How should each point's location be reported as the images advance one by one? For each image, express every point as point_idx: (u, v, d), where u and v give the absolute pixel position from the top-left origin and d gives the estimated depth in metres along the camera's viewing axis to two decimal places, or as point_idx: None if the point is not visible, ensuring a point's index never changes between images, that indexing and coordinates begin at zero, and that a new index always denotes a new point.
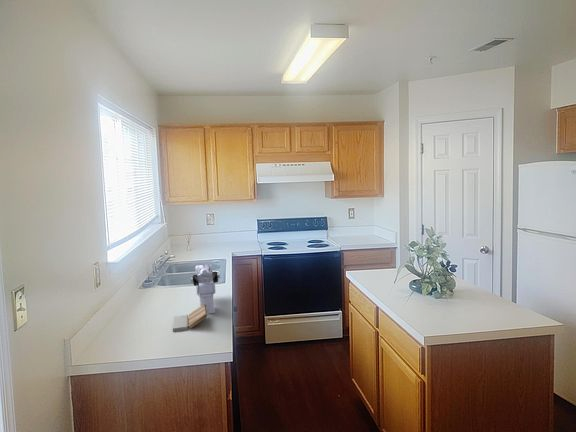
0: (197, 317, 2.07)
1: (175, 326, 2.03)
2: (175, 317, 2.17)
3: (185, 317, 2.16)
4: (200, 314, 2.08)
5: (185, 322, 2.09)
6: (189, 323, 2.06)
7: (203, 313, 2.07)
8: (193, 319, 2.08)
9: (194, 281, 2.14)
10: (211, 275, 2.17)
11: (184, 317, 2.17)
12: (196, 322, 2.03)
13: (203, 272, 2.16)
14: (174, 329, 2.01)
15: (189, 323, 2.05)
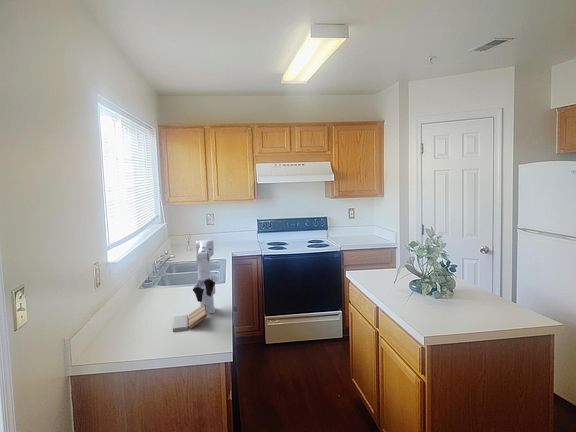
0: (197, 317, 2.07)
1: (175, 326, 2.03)
2: (175, 317, 2.17)
3: (185, 317, 2.16)
4: (200, 314, 2.08)
5: (185, 322, 2.09)
6: (189, 323, 2.06)
7: (203, 313, 2.07)
8: (193, 319, 2.08)
9: None
10: (206, 280, 2.11)
11: (184, 317, 2.17)
12: (196, 322, 2.03)
13: (198, 282, 2.12)
14: (174, 329, 2.01)
15: (189, 323, 2.05)
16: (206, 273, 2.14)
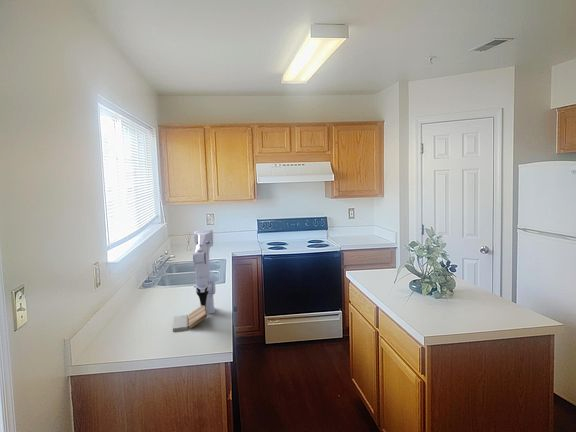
0: (197, 317, 2.07)
1: (175, 326, 2.03)
2: (175, 317, 2.17)
3: (185, 317, 2.16)
4: (200, 314, 2.08)
5: (185, 322, 2.09)
6: (189, 323, 2.06)
7: (203, 313, 2.07)
8: (193, 319, 2.08)
9: None
10: None
11: (184, 317, 2.17)
12: (196, 322, 2.03)
13: None
14: (174, 329, 2.01)
15: (189, 323, 2.05)
16: (201, 280, 2.08)
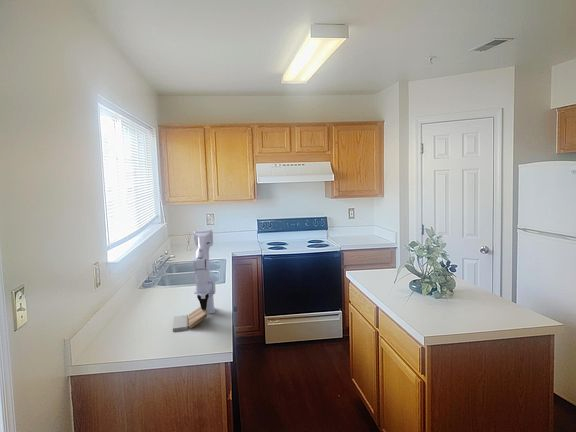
0: (197, 317, 2.07)
1: (175, 326, 2.03)
2: (175, 317, 2.17)
3: (185, 317, 2.16)
4: (200, 314, 2.08)
5: (185, 322, 2.09)
6: (189, 323, 2.06)
7: (203, 313, 2.07)
8: (193, 319, 2.08)
9: None
10: None
11: (184, 317, 2.17)
12: (196, 322, 2.03)
13: None
14: (174, 329, 2.01)
15: (189, 323, 2.05)
16: (201, 286, 2.09)
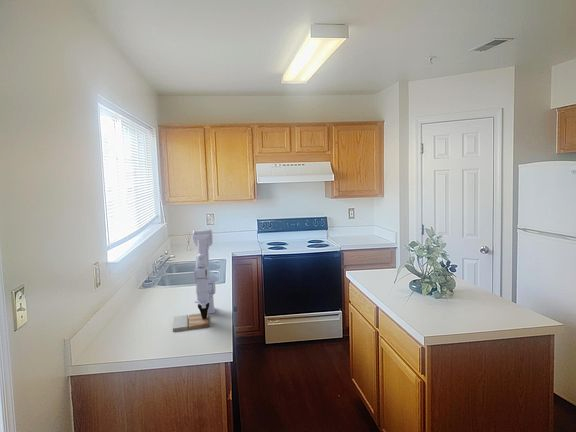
0: (199, 322, 2.07)
1: (175, 326, 2.03)
2: (175, 317, 2.17)
3: (185, 317, 2.16)
4: (203, 321, 2.08)
5: (185, 322, 2.09)
6: (189, 324, 2.06)
7: (206, 321, 2.08)
8: (194, 322, 2.08)
9: None
10: None
11: (184, 317, 2.17)
12: (197, 326, 2.04)
13: None
14: (174, 329, 2.01)
15: (190, 324, 2.05)
16: (202, 295, 2.09)
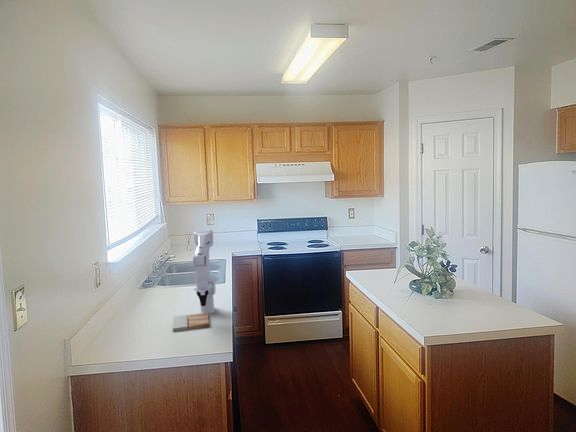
0: (199, 322, 2.07)
1: (175, 326, 2.03)
2: (175, 317, 2.17)
3: (185, 317, 2.16)
4: (203, 321, 2.08)
5: (185, 322, 2.09)
6: (189, 324, 2.06)
7: (206, 321, 2.08)
8: (194, 322, 2.08)
9: None
10: None
11: (184, 317, 2.17)
12: (197, 326, 2.04)
13: None
14: (174, 329, 2.01)
15: (190, 324, 2.05)
16: (201, 282, 2.09)
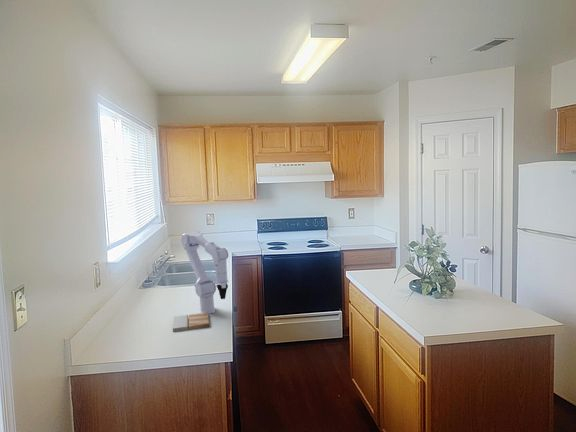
0: (199, 322, 2.07)
1: (175, 326, 2.03)
2: (175, 317, 2.17)
3: (185, 317, 2.16)
4: (203, 321, 2.08)
5: (185, 322, 2.09)
6: (189, 324, 2.06)
7: (206, 321, 2.08)
8: (194, 322, 2.08)
9: None
10: None
11: (184, 317, 2.17)
12: (197, 326, 2.04)
13: None
14: (174, 329, 2.01)
15: (190, 324, 2.05)
16: (221, 276, 2.15)
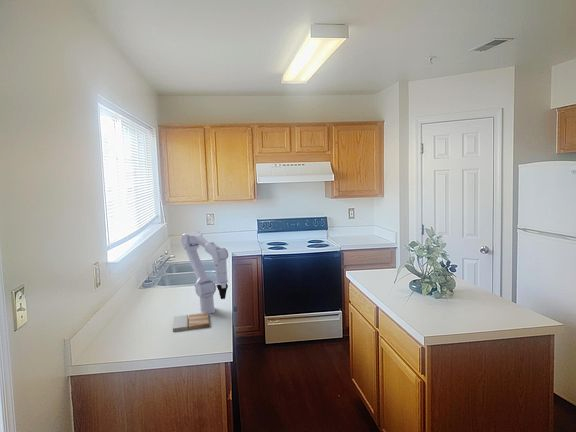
0: (199, 322, 2.07)
1: (175, 326, 2.03)
2: (175, 317, 2.17)
3: (185, 317, 2.16)
4: (203, 321, 2.08)
5: (185, 322, 2.09)
6: (189, 324, 2.06)
7: (206, 321, 2.08)
8: (194, 322, 2.08)
9: None
10: None
11: (184, 317, 2.17)
12: (197, 326, 2.04)
13: None
14: (174, 329, 2.01)
15: (190, 324, 2.05)
16: (221, 276, 2.15)
